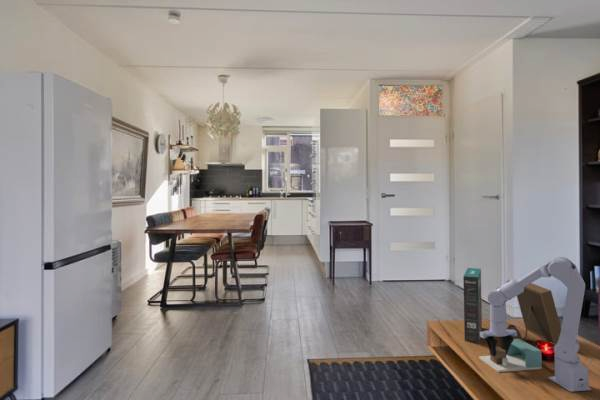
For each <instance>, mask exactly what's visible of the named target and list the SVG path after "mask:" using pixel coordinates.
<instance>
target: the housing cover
mask: <svg viewBox="0 0 600 400" xmlns="http://www.w3.org/2000/svg"><path fill="white" fill-rule="evenodd" d="M524 341H525V340H522V338H521V339H513V342H512V343H511V345H510V347H509V350H508V353H507V355H514V354H520V355H522V356H523V357H525V366H526V367H538V366H541V367H542V365H543V364H542V363H543V362H542V360H543V359H542V356H543V355H542V350H541V349H539V348H538V347H536V346H533V345H532V344H530V343H528V342H524Z"/></svg>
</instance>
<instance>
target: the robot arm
mask: <svg viewBox="0 0 600 400" xmlns="http://www.w3.org/2000/svg"><path fill="white" fill-rule="evenodd" d="M551 277H553V278H555V279H556V280H559V282H561V283H562V284H563V285H564V286H565V287H566V288H567V291H566V296H565V297H566V298H565V305H564V309H563V317H562V322H561V333H560V336H559V340H558V342H557V344H556V345H555V346H553V353H554V376H549V377H548V379H550V380H551V381H552V382H554V383H556V384H557V385H559V386H561V387H562V388H564V389H565V390H567V391H569V392H572V393H574V392H581V391H582V392H583V391H584V392H585V391H592V388H591V387H590V381H589V380H590V379H589V378H590V377H589V375H590V373H589V370H588V368H587V367H586V366H584V364H582V362H581V358H580V357H579V355H578V352H579V350H580V348H581V347H580V343H579V341H578V338H579V334H578V333H579V327H580V320H581V314H582V308H583V302H584V297H585V291H586V283H585V281H584V279H583V277H582V275H581V274H580V272H579V269H578V267H577V265H576V264H575V263H574V262H572V260H570V259H568V257H565V256H564V257H563V256H559V257H556V258H554V259H553V260H550V261H547V262H545V263H543V264H541V265H539V266H537V267H536V268H534V269H533V270H531V271H529V272H528V273H527V274H525V275H524V276H522V277H520V278H519V279H517V278H516V279H515V278H511V279H507V280H506V281H505V283H504V284H502V285H500V286H496V287H495V289H494V290H492V291H490V292H489V294H488V295H487V301H488V302H489V329H488V330H487V329H486V330H483V331H481V332H480V339H481V338H482V339H484V340H485V342H486V344H487V346H488V349H489V350H488V351H489V355H490V354H491V355H493V356H495V355H496V347H497V344H498V340H497V339H496V338H498V337H499V339H500V344H501V348H502V349H504V350H505V351H506V355H507V353H508V350H509V347H510V345H511V343H512V342H513V338H512V337H511V336H517V331H515V330H507V306H506V305H507V304H506V303H507V302H508V301H510V300H512V299H514V298H515V297H516V298H517V295H519V294H521V293H522V292H524V287H525V286H526V285H528V284H530V283H532V284H533V283H534V282H536V281H537V280H540V279H541V278H551Z"/></svg>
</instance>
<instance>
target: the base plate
mask: <svg viewBox="0 0 600 400" xmlns="http://www.w3.org/2000/svg"><path fill="white" fill-rule="evenodd" d="M478 359H480V360H481V361H482V362H483V363H484V364H486V365H487V366H489V367H491V368H492V369H493V370H495V371H496V372H497V373H506V372H517V371H519V372H520V371H521V372H522V371H530V370H532V371H533V370H542V368H543V367H542V366H538V367H526V366H525V357H523V356H522V355H520V354H514V355H506V357H502V364H496V363H494V362H493V361H491V360H490V355H481V356H478Z"/></svg>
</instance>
